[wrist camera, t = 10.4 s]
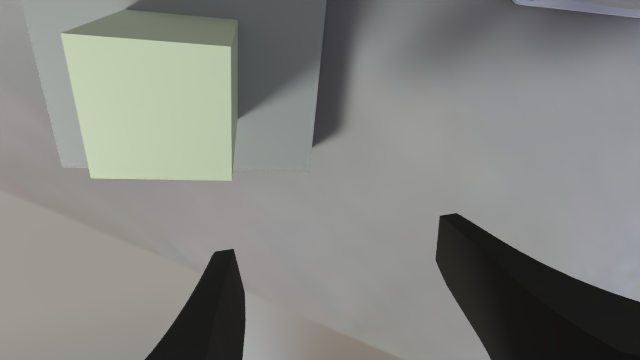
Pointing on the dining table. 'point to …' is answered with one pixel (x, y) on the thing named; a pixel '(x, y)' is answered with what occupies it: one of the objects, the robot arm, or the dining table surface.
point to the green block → (156, 94)
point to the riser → (253, 72)
